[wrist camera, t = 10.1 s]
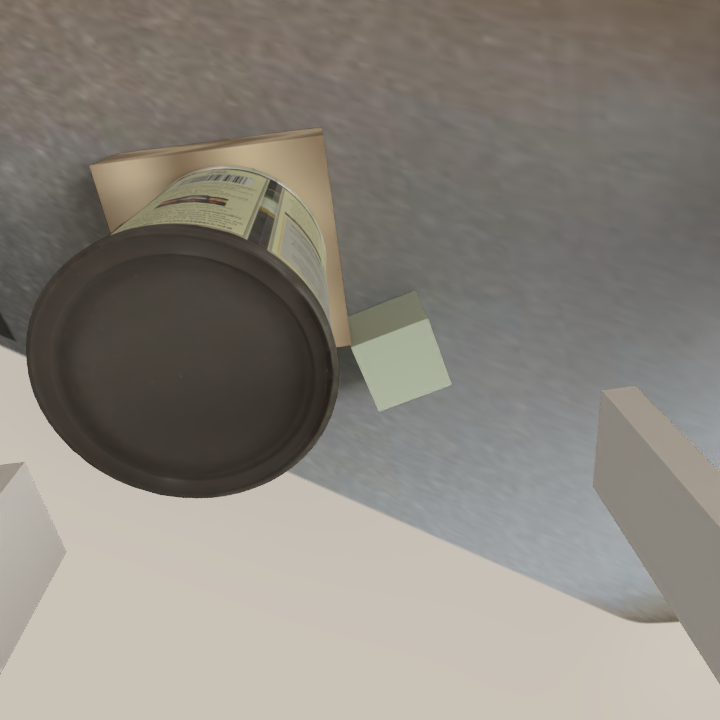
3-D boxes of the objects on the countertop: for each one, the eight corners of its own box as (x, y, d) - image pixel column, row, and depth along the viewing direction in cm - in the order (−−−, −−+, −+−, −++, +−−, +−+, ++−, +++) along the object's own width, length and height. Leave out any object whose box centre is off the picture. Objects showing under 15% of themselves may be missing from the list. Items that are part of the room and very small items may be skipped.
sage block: (414, 290, 39) (427, 318, 35) (436, 351, 41) (451, 384, 37) (346, 316, 40) (350, 347, 35) (371, 375, 42) (378, 411, 37)
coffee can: (210, 373, 35) (152, 540, 22) (100, 223, 31) (-49, 325, 18) (361, 295, 33) (389, 427, 21) (267, 126, 29) (233, 163, 17)
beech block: (321, 127, 34) (323, 135, 30) (346, 314, 39) (351, 345, 35) (118, 153, 34) (89, 165, 29) (171, 338, 39) (154, 372, 35)
